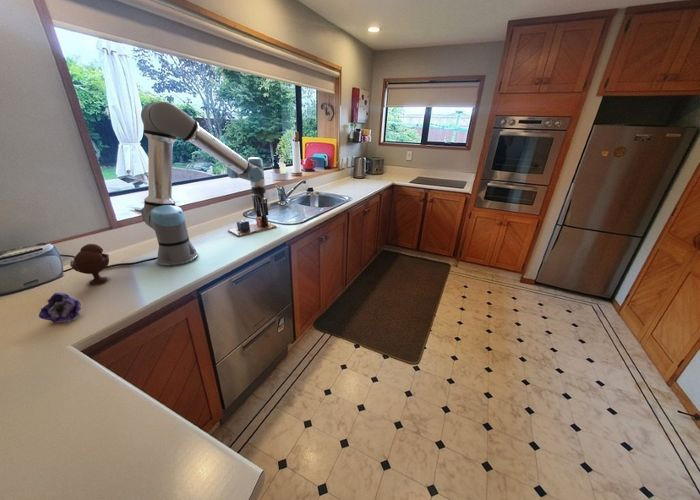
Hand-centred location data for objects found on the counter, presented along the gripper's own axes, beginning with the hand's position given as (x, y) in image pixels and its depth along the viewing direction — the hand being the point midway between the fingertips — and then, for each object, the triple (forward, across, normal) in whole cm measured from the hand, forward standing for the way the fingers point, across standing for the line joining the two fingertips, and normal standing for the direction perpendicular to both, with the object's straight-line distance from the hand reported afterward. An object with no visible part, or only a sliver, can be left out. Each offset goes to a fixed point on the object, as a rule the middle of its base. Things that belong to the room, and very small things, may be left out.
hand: (262, 224), depth 168 cm
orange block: (0, 0, 0) cm, 0 cm away
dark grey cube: (0, 0, +12) cm, 12 cm away
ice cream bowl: (+1, -17, +78) cm, 80 cm away
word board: (+1, 0, +6) cm, 6 cm away
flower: (+1, -37, +88) cm, 96 cm away
